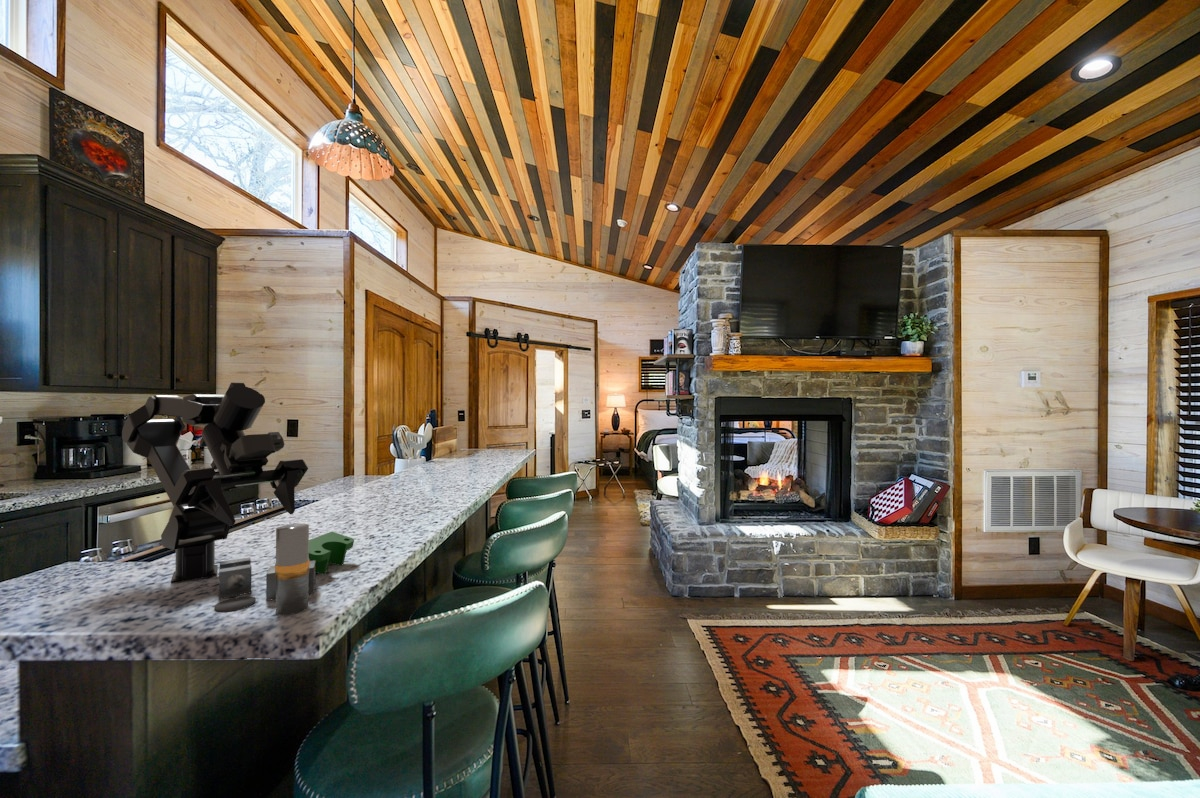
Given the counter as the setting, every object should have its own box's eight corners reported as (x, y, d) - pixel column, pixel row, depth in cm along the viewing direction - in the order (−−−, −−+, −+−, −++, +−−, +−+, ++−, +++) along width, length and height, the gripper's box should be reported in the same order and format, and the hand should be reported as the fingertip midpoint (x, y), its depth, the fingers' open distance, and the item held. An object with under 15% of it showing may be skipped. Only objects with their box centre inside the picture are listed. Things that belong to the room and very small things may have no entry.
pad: (214, 603, 80) (214, 601, 80) (255, 595, 83) (255, 593, 83) (213, 614, 76) (213, 612, 76) (256, 605, 79) (256, 604, 79)
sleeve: (273, 607, 78) (274, 526, 78) (307, 600, 81) (307, 522, 81) (276, 618, 74) (276, 532, 74) (310, 610, 77) (311, 527, 77)
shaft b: (266, 600, 81) (266, 573, 81) (270, 591, 85) (270, 565, 85) (313, 593, 84) (313, 567, 84) (315, 584, 88) (315, 560, 88)
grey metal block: (219, 586, 87) (219, 561, 87) (250, 581, 90) (250, 557, 90) (218, 599, 81) (219, 572, 82) (251, 592, 84) (251, 567, 84)
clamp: (315, 598, 93) (311, 562, 89) (287, 589, 94) (283, 553, 90) (358, 556, 103) (356, 523, 100) (333, 548, 104) (330, 514, 101)
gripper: (181, 418, 76) (217, 496, 71) (302, 416, 92) (339, 479, 87) (157, 466, 80) (190, 543, 74) (278, 455, 96) (311, 518, 91)
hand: (264, 518), depth 81 cm, fingers open, 9 cm apart
